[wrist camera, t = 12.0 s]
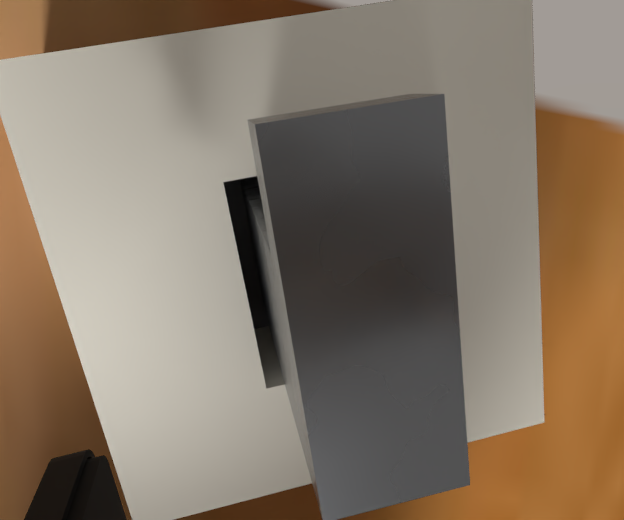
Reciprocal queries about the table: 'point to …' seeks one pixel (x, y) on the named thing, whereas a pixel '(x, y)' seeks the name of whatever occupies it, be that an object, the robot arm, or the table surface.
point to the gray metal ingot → (363, 295)
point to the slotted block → (235, 230)
